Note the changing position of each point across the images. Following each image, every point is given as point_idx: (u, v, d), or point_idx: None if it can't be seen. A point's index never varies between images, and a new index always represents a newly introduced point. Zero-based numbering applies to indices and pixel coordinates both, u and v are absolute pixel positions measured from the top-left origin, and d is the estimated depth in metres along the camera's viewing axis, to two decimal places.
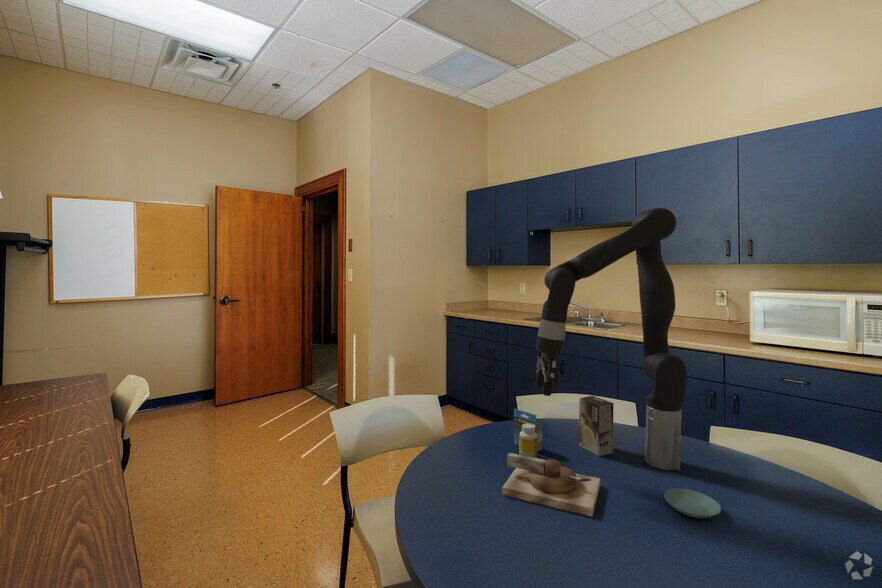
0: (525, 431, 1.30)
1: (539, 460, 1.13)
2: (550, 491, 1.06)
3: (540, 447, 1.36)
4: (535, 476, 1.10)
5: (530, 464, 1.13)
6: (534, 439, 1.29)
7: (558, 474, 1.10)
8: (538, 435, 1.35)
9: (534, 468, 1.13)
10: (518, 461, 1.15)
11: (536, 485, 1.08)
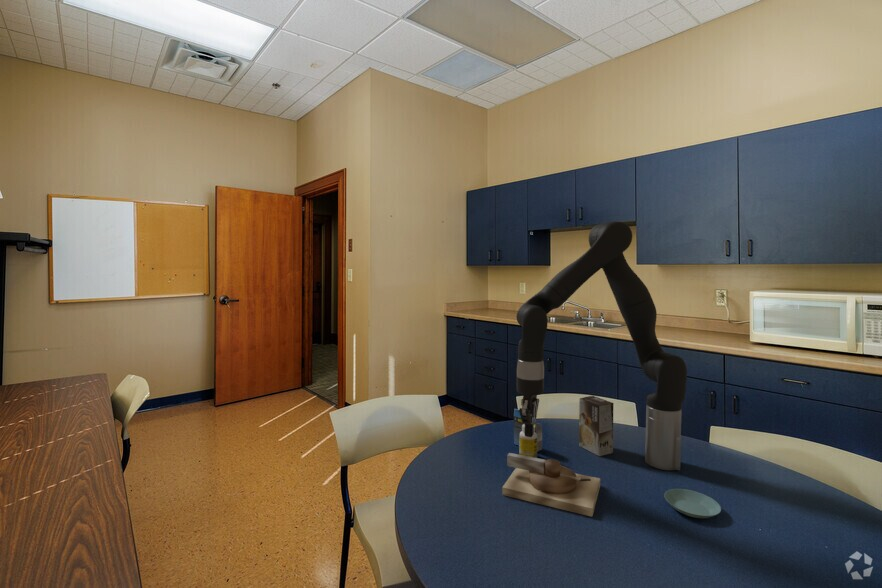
0: None
1: (539, 460, 1.13)
2: (550, 491, 1.06)
3: (540, 447, 1.36)
4: (535, 476, 1.10)
5: (530, 464, 1.13)
6: (534, 439, 1.29)
7: (558, 474, 1.10)
8: (538, 435, 1.35)
9: (534, 468, 1.13)
10: (518, 461, 1.15)
11: (536, 485, 1.08)
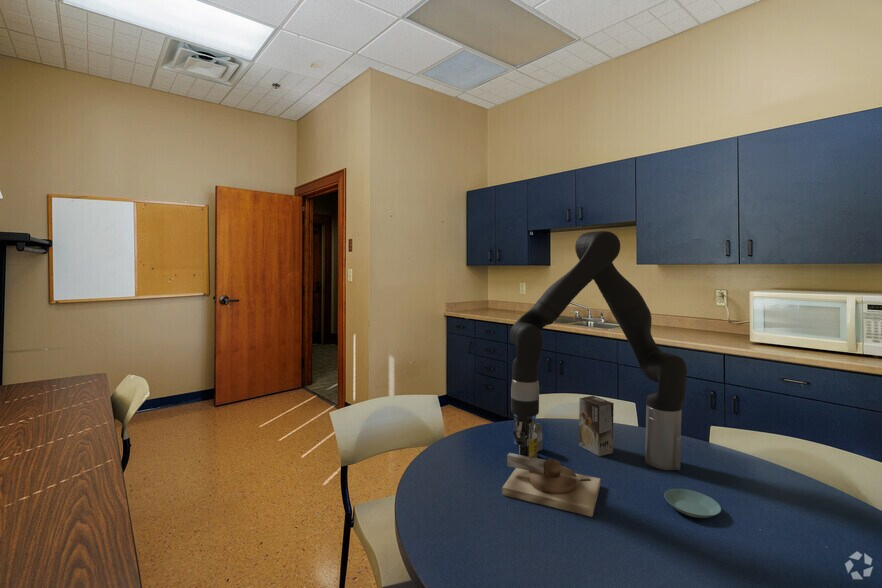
0: None
1: (539, 460, 1.13)
2: (550, 491, 1.06)
3: (540, 447, 1.36)
4: (535, 476, 1.10)
5: (530, 464, 1.13)
6: (534, 439, 1.29)
7: (558, 474, 1.10)
8: (538, 435, 1.35)
9: (534, 468, 1.13)
10: (518, 461, 1.15)
11: (536, 485, 1.08)
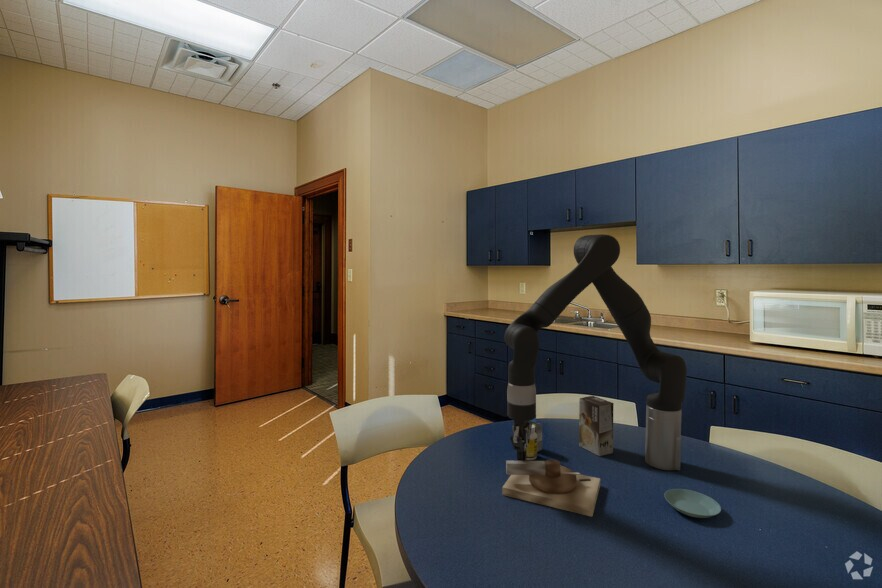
0: None
1: (539, 462, 1.11)
2: (560, 492, 1.06)
3: (540, 447, 1.36)
4: (541, 480, 1.08)
5: (531, 468, 1.11)
6: (534, 439, 1.29)
7: (560, 473, 1.11)
8: (538, 435, 1.35)
9: (535, 471, 1.11)
10: (518, 467, 1.11)
11: (545, 488, 1.07)
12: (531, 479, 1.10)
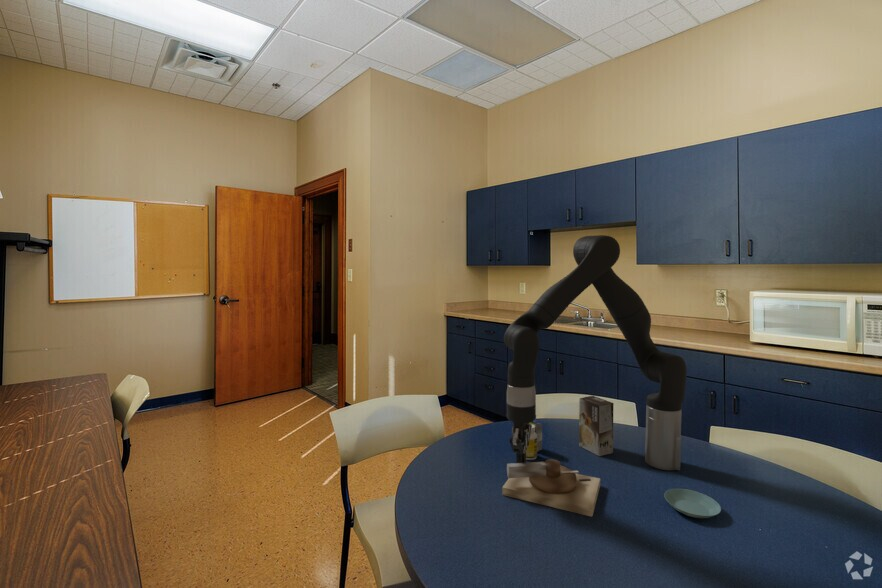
0: None
1: (540, 463, 1.11)
2: (564, 491, 1.06)
3: (540, 447, 1.36)
4: (544, 481, 1.08)
5: (532, 470, 1.10)
6: (534, 439, 1.29)
7: (560, 472, 1.11)
8: (538, 435, 1.35)
9: (536, 473, 1.10)
10: (520, 470, 1.10)
11: (549, 489, 1.06)
12: (533, 481, 1.09)
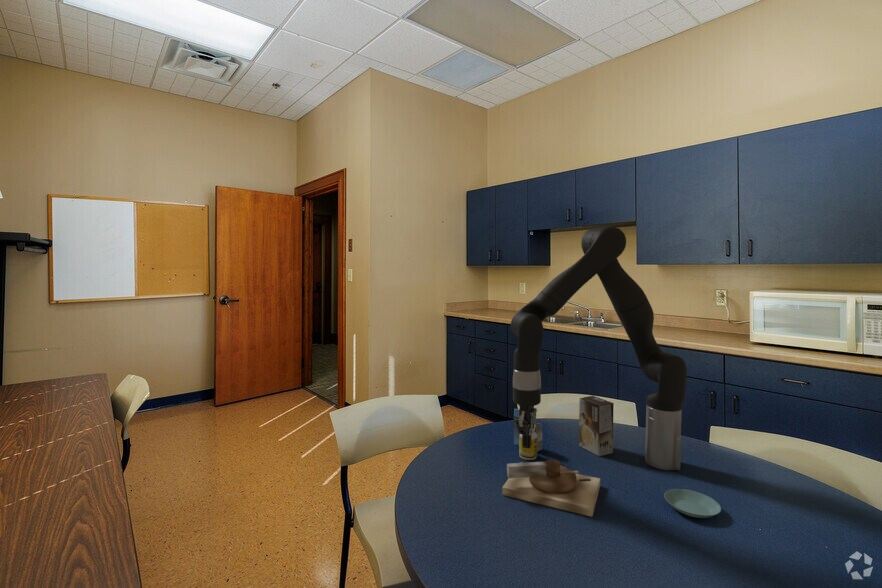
0: None
1: (540, 463, 1.11)
2: (564, 491, 1.06)
3: (540, 447, 1.36)
4: (544, 481, 1.08)
5: (532, 470, 1.10)
6: (534, 439, 1.29)
7: (560, 472, 1.11)
8: (538, 435, 1.35)
9: (536, 473, 1.10)
10: (520, 470, 1.10)
11: (549, 489, 1.06)
12: (533, 481, 1.09)
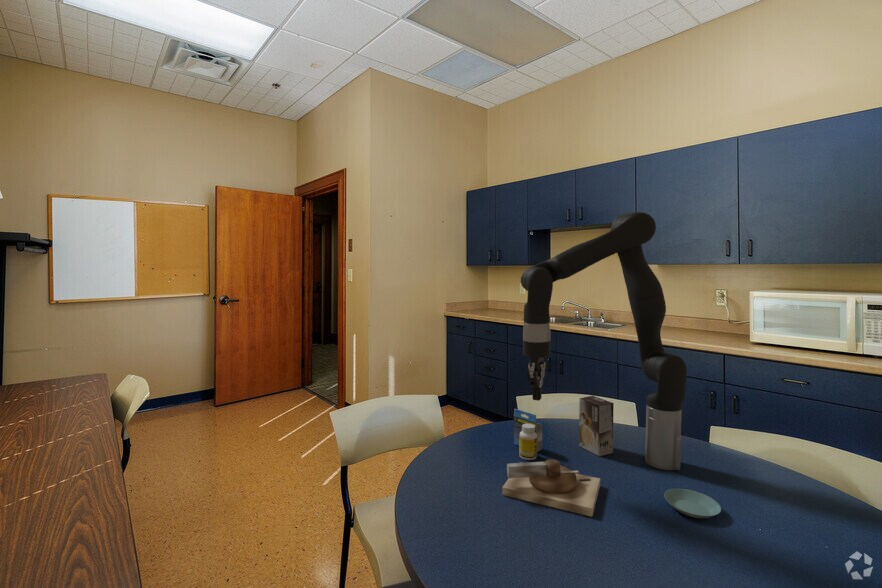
0: (525, 431, 1.30)
1: (540, 463, 1.11)
2: (564, 491, 1.06)
3: (540, 447, 1.36)
4: (544, 481, 1.08)
5: (532, 470, 1.10)
6: (534, 439, 1.29)
7: (560, 472, 1.11)
8: (538, 435, 1.35)
9: (536, 473, 1.10)
10: (520, 470, 1.10)
11: (549, 489, 1.06)
12: (533, 481, 1.09)
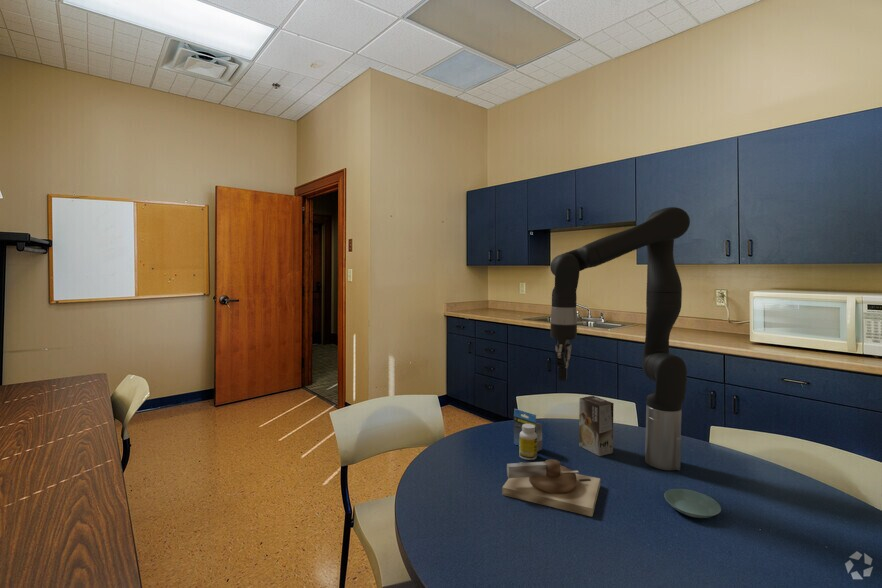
0: (525, 431, 1.30)
1: (540, 463, 1.11)
2: (564, 491, 1.06)
3: (540, 447, 1.36)
4: (544, 481, 1.08)
5: (532, 470, 1.10)
6: (534, 439, 1.29)
7: (560, 472, 1.11)
8: (538, 435, 1.35)
9: (536, 473, 1.10)
10: (520, 470, 1.10)
11: (549, 489, 1.06)
12: (533, 481, 1.09)
